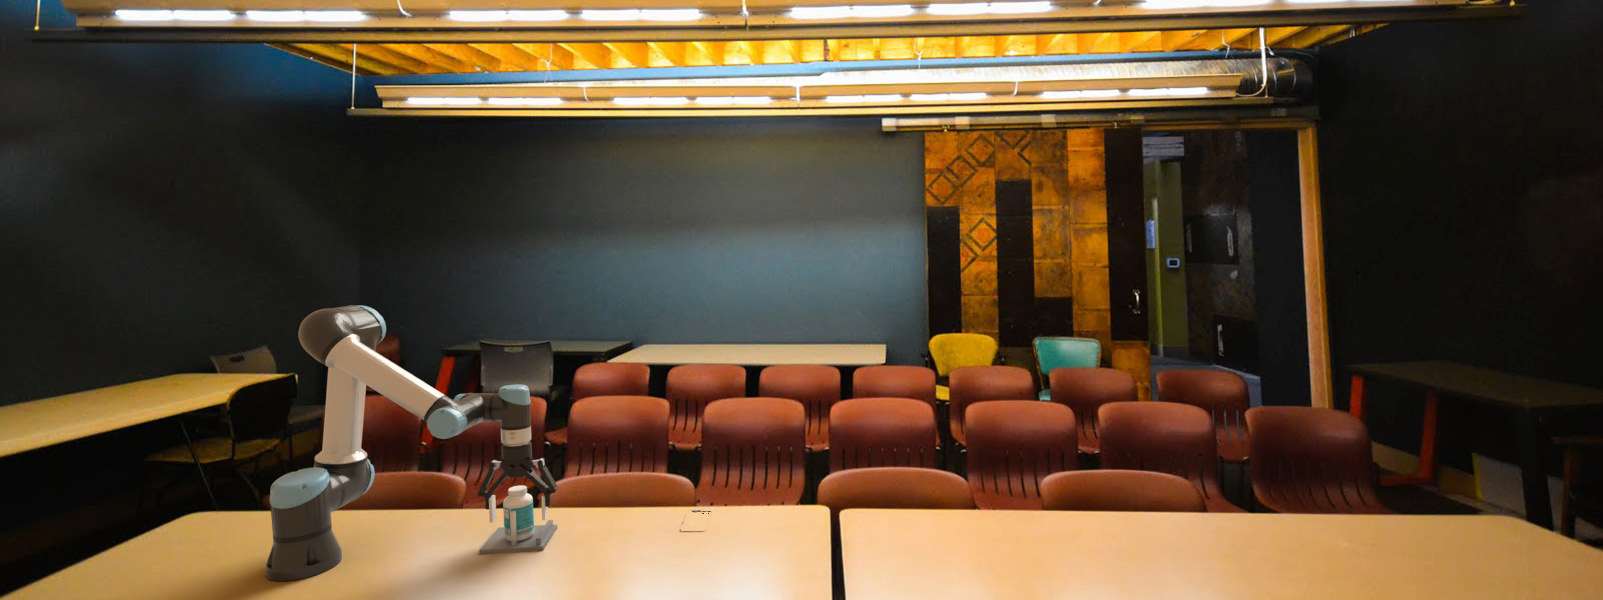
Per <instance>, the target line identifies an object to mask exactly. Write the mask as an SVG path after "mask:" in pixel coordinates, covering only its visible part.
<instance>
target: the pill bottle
mask: <svg viewBox="0 0 1603 600" xmlns="http://www.w3.org/2000/svg"><path fill="white" fill-rule="evenodd" d="M507 494H508V496H506V497H505V498H504V500H503V502H502V505H503V506H502V508H503V509H502V510H503V527H504V530H505V538H506V539H507V540H508V541H511V527H510V511H516V532H517V541H522V540H525V539H528V538H530V537H531V536H532V535H533V534H534V526H535V520H534V519H535V518H534V499H533V496H532V494H530V493H528V486H526V485H513V486H512V487H509V488H508V490H507Z"/></svg>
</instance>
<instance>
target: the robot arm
mask: <svg viewBox="0 0 1603 600" xmlns="http://www.w3.org/2000/svg"><path fill="white" fill-rule="evenodd" d="M386 332H387V325H386V320H384V317H383V316H382V315H381V314H380V313H379V312H378V311H377V310H376V309H374V308H372V307H370V306H367V305H355V304H354V305H351V304H350V305H347V306H346V305H345V306H338V307H332V308H330V307H328V308H321V309H318V310H315V311H313V312H312V313H310V314H308V315H307V316H306V317H305V318H304V319H303V320H302V321H301V323H300V325H299V328H298V339H299V343H300V345H301V346H302V348H303V349H304V350H305V352H307V354H309V355H310V356H311V357H312V358H314V359H315V360H316V361H317V362H319V363H321V364H322V365H324V366H325V367H328V368H327V369H328V370H327V380H326V381H327V383H326V395H325V397H326V398H325V409H324V421H323V422H324V423H323V435H322V437H323V438H322V449H321V451H320V452H319V453H317V454H316V455H315V456H314V463H313V467H307V468H302V469H298V470H297V471H291V472H287V473H285V474H283V475H282V476H280V477H279V478H277V479H276V480H275V481H274V482H273V483H272V484H271V486H270V491H269V492H270V495H269V504H270V514H271V515H270V516H271V517H270V518H271V527H272V529H271V530H272V546H271V549H270V552H269V556H268V559H267V561H266V565H265V577H266V578H267V579H268V580H270V581H274V582H275V581H276V582H287V581H296V580H300V579H305V578H309V577H313V576H317V575H319V574H322V573H324V572H326V571H329V570H330V569H333V568H334V567H335V566H337V565H338V564H339V563H341V561H342V559H343V551H342V548H341V546H340V544H339V542H338V540H337V537H336V535H335V534H334V532H333V527H332V513H334V512H335V511H336V510H339V509H340V508H342V507H344V506H346V505H347V504H350V503H352V502H354V501H357V500H358V499H359V498H360V497H362V496H363V495H364V494H366V493H367V492H368V491H369V489H370V488H371V486H372V485H373V483H374V480H375V475H376V473H375V467H374V465H373V464H371V461H370V459H368V452H367V451H365V450H364V449H363V448H362V442H363V431H364V430H363V429H364V418H365V417H364V416H365V407H366V406H365V403H366V391H367V387H369V388H371V389H372V390H374V391H375V392H377V393H379V394H380V395H382V396H384V397H385V398H387V399H389V400H390V401H391V402H393V403H394V404H397V405H398V406H400V407H401V408H403V409H405V410H406V411H408V412H410V413H411V414H413V415H415V416H416V417H418V418H420V420H423V421H424V422H425V423H426V426H427V427H426V428H427V429H428V430H429V432H430V434H431V435H432V436H433V437H435V438H437V439H442V440H445V439H450V438H452V437H455V436H458V435H460V434H462V433H463V432H464V431H466V430H469V428H472V427H473V426H475V425H477V424H478V425H479V423H485V422H486V423H487V422H488V423H489V422H492V423H493V422H500V440H501V441H500V443H501V446H500V447H501V460H500V461H498V460H497V459H493V460H491V461H490V463H488V471H487V473H486V474H485V477H484V480H483V481H482V483H481V485H480V488H479V490H478V492H477V496H478V497H481V498H484V503H485V510H488V512H489V523H493V522H495V520H496V519H497V503H496V495H495V494H494V493H495V492H496V491H497V489H498V488H499V486H500V485H501V484H502V483H503V481H504V480H505V479H506V478H507V477H509V478H513V479H514V478H523V477H525V478H527V480H529V481H531V482H532V484H534V486H535V487H536V488H537V489H538V490H539V491H540V492H541V493H542V496H541V519H542V521H545V520H546V519H547V518H548V517H549V511H548V510H549V509H548V508H549V507H550V506H551V504H552V494H555V493H556V492H557V491H558V489H559V486H558V485H557V483H556V482H555V480H554V478H553V476H552V474H551V473H550V471H549V469H548V467H547V465H546V460H545V458H544V457H541V458H540V459H534V458H533V449H532V448H533V446H532V445H533V444H532V441H531V440H532V421H531V419H532V418H531V413H532V411H531V404H532V402H531V396H530V395H531V394H530V388H529V387H528V385H526V384H520V383H519V384H517V383H516V384H509V385H508V384H507V385H503V386H501V387H500V388H498V389H499V391H498V393H491V392H490V393H487V392H486V393H482V392H481V393H478V392H477V393H476V392H475V393H474V392H469V393H459V394H457V395H455V396H454V399H452V398H450V397H449V396H447V395H445V394H444V393H442V392H441V391H439V390H437V389H436V388H434V387H433V386H431V385H429V384H428V383H426V382H425V381H423V380H421V379H420V378H418V377H417V376H415V375H414V374H412V373H410V372H409V371H407V370H405V369H404V368H402V367H401V366H399V365H397V364H396V363H394V362H393V361H391V360H389V359H388V358H386V357H384V355H381V354H380V353H378V352H377V351H376V350H377V345H379V344H380V343H381V342H382V341H383V340H384V338H385V337H386V334H387V333H386ZM533 466H535V467H536V468H537V469H538V472H539V473H540V475H541V476H542V478H543V479H542V478H541V477H540V476H539V475H538V474H537V473H536V471H535V470H534V469H533V468H532V467H533ZM499 468H501V470H503V473H501V475H500V477H498V479H497V480H496V481H495V482H494V483H493V485H492V486H491V487H490V488H489V489H488V487H489V485H490V483H491V480H492V478H493V476H494V475H495V472H496V470H498V469H499ZM487 489H488V490H487Z"/></svg>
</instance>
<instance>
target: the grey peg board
mask: <svg viewBox="0 0 1603 600" xmlns="http://www.w3.org/2000/svg"><path fill="white" fill-rule="evenodd" d="M510 527H511V541H508V540H507V539H506V538H505V530H504V526H501V527H498V528H496V530H495V531H494V532H493V533H492V535H491V536H490V537H489V538H488V539H487V541H486V542H485V543H484V544H483V545H482V546H481V548H480V549H479V554H497V553H498V554H499V553H514V552H515V553H516V552H532V551H544V550H545V548H546V547H547V545H548V543H549V542H550V540H551V539H552V538H553V535H555V534H554V532H556V531H557V529H558V524H554V520H553V519H549V520H547V522H546V523H545V524H544V525H543V524H542V525H534V534H533V535H532V536H531V537H530V538H528V539H525V540H522V541H517V532H516V511H510Z"/></svg>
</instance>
